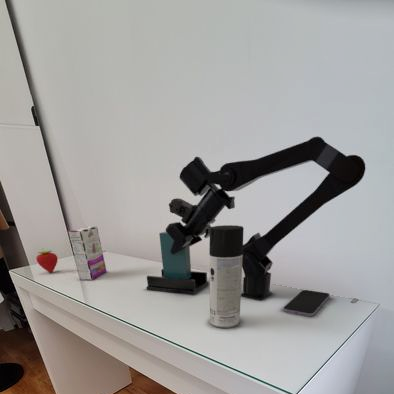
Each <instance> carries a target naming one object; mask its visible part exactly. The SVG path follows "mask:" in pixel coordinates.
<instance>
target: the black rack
mask: <svg viewBox="0 0 394 394" xmlns="http://www.w3.org/2000/svg"><path fill="white" fill-rule="evenodd" d="M160 271H161V276H159V275H147V276H146V282H147V286H146V290H147V291H155V292H163V293H172V294H181V295H191V296H194V295H196V294H197V293H198V292H200V291H201V290H203V289H204V288H205V287H207V286H208V285H209V280H208V272H206V271H194V270H191V278H189V279H180V278H169V277H164V272H163V268H162V269H160Z"/></svg>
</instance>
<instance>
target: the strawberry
mask: <svg viewBox="0 0 394 394" xmlns="http://www.w3.org/2000/svg"><path fill="white" fill-rule="evenodd" d="M36 262H37V264H38V265H39V266H40V267H41V268H42V269H43V270H45V271H47V273H49V274H50V273H53V272H54V270H55V268H56V266H57V264H58V256H57V254H56V253H54V252H52V250H44V248H42V250H41V251H38V255H37V256H36Z"/></svg>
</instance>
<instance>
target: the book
mask: <svg viewBox="0 0 394 394" xmlns="http://www.w3.org/2000/svg"><path fill="white" fill-rule="evenodd" d="M173 242H174V240H173V239H172V238H171V236H170V235H169V234H168V233H167V232H166V231H163V232H159V244H160V252H161V253H160V255H161V260H162V269H163V272H164V277H169V278H180V279H189V278H191V271H192V267H191V266H192V265H191V250H190V247H191V246H190V247H189V246H188V247H186V248H184V249H182V250H181V251H179V252H177V253H175V254H173V255H172V254H171V252H170V251H171V248H172V245H173Z"/></svg>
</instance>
